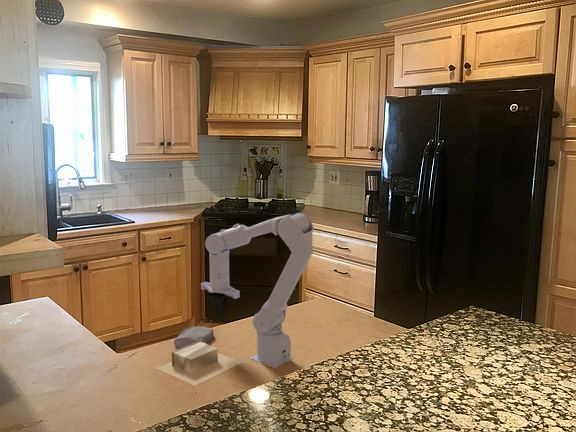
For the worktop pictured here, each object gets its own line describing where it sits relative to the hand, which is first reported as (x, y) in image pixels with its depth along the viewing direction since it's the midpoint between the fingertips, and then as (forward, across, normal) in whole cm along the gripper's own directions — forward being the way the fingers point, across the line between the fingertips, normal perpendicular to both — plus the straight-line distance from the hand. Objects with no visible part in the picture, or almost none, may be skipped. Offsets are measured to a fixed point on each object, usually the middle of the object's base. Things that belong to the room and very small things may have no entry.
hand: (220, 316), depth 160 cm
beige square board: (+10, +4, -12) cm, 16 cm away
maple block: (+8, +6, -12) cm, 16 cm away
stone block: (+11, -10, -2) cm, 15 cm away
